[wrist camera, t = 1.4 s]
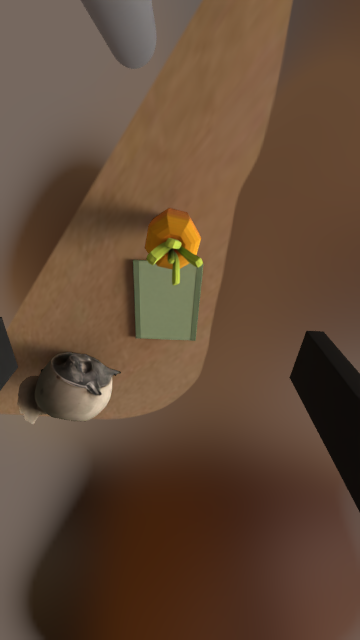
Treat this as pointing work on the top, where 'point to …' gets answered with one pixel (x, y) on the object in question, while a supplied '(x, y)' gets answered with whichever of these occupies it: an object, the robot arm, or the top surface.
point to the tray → (166, 301)
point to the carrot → (173, 242)
